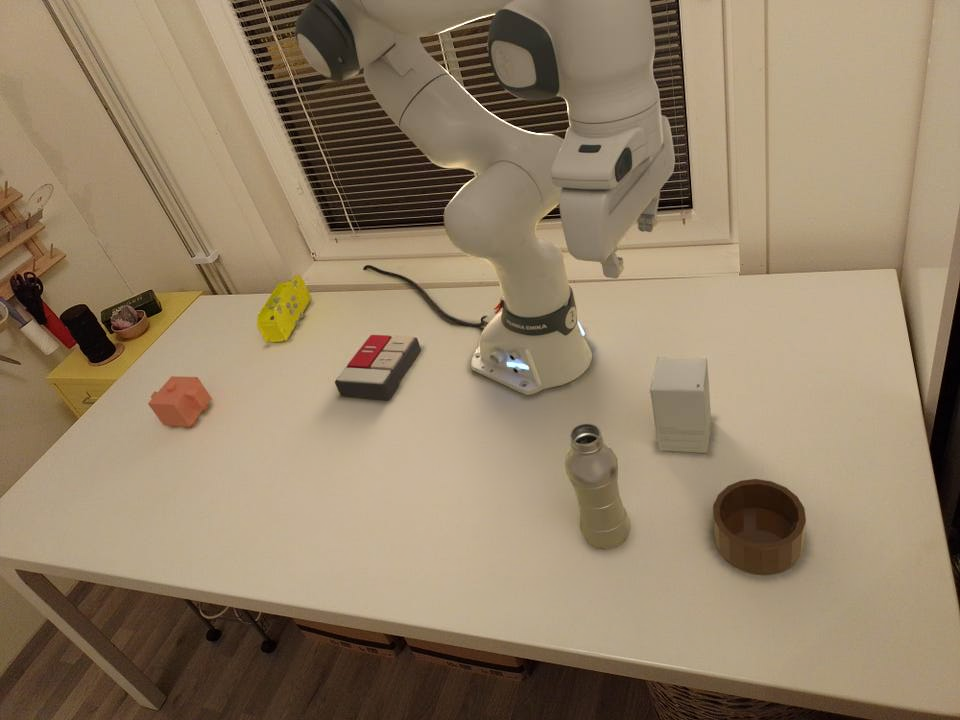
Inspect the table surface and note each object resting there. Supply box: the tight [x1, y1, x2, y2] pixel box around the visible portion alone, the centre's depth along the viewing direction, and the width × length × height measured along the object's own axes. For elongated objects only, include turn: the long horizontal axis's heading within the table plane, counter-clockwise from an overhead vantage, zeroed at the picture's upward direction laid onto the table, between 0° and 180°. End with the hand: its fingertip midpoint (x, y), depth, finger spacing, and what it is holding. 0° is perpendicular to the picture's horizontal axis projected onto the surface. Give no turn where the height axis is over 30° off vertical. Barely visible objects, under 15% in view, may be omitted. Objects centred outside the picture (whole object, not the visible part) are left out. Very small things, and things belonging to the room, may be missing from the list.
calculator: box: [334, 334, 422, 401], centre depth 136 cm, size 11×4×15 cm
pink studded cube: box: [147, 375, 213, 428], centre depth 139 cm, size 8×12×8 cm, turn 72°
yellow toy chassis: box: [256, 275, 312, 344], centre depth 157 cm, size 16×6×8 cm, turn 169°
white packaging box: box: [649, 356, 712, 454], centre depth 103 cm, size 7×7×13 cm
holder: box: [712, 478, 807, 576], centre depth 89 cm, size 11×11×6 cm
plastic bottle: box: [564, 423, 631, 549], centre depth 90 cm, size 6×7×20 cm
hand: (631, 250), depth 79 cm, fingers open, 8 cm apart
